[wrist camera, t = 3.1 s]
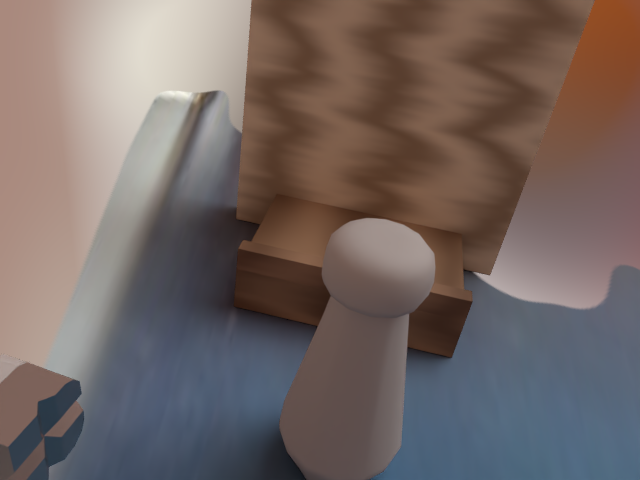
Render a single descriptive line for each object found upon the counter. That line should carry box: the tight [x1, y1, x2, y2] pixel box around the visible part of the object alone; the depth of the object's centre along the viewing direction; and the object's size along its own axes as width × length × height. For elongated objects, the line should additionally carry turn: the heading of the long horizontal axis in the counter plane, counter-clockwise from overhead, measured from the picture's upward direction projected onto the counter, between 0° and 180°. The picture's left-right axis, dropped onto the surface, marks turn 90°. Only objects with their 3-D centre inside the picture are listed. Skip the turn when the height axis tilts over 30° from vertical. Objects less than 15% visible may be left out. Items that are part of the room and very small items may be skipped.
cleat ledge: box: [234, 194, 473, 357], centre depth 39 cm, size 14×10×4 cm
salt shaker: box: [279, 218, 435, 480], centre depth 25 cm, size 6×6×13 cm
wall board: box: [236, 0, 595, 275], centre depth 40 cm, size 20×2×20 cm, turn 79°
